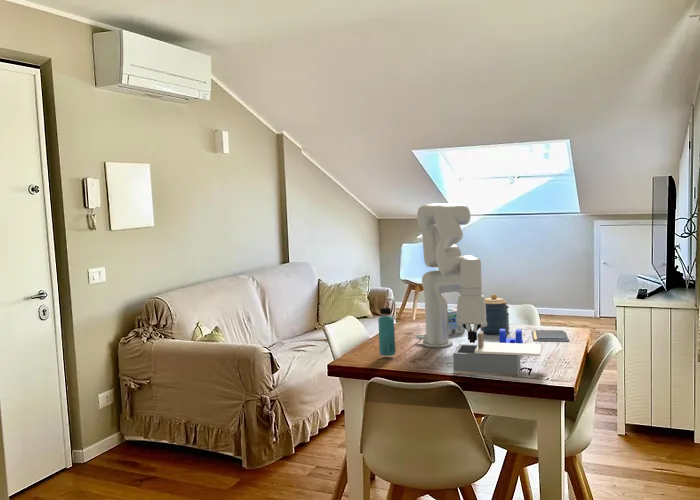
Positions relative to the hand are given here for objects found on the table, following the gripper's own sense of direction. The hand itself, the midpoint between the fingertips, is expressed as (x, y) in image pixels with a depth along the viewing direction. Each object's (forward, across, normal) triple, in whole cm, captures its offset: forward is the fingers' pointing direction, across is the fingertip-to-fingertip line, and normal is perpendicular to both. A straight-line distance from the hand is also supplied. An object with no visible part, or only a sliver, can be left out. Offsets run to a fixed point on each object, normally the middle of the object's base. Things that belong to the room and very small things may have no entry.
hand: (472, 342), depth 218 cm
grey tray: (+10, +5, 0) cm, 11 cm away
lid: (+2, +13, 0) cm, 13 cm away
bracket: (+10, +11, +34) cm, 37 cm away
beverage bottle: (+10, -35, +9) cm, 37 cm away
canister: (+10, 0, +62) cm, 63 cm away
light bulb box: (+10, -18, +58) cm, 62 cm away
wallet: (+10, +25, +56) cm, 62 cm away
